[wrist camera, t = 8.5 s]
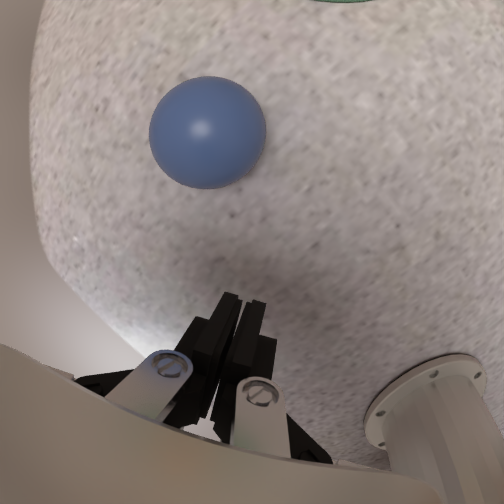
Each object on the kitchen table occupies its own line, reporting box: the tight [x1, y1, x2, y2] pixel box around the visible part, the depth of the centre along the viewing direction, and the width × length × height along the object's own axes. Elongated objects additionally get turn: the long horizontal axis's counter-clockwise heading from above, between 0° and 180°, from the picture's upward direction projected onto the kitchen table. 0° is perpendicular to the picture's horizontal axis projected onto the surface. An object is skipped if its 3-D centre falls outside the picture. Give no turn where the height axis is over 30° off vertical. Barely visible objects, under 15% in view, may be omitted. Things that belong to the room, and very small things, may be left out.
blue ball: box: [149, 76, 266, 189], centre depth 13 cm, size 6×6×6 cm
